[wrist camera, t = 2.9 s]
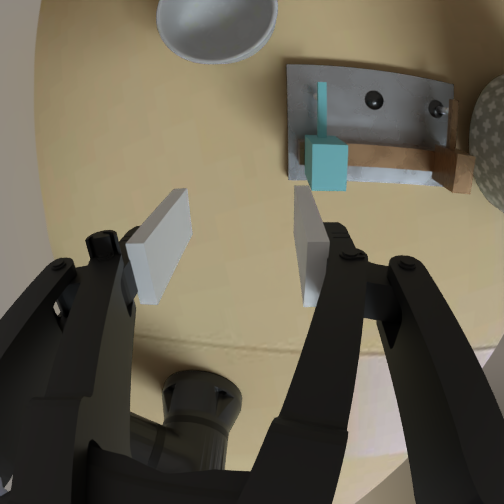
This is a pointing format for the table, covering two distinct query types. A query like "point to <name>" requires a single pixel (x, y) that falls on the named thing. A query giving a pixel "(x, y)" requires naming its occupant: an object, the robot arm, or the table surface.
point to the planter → (489, 142)
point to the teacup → (216, 28)
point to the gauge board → (380, 125)
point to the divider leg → (325, 152)
